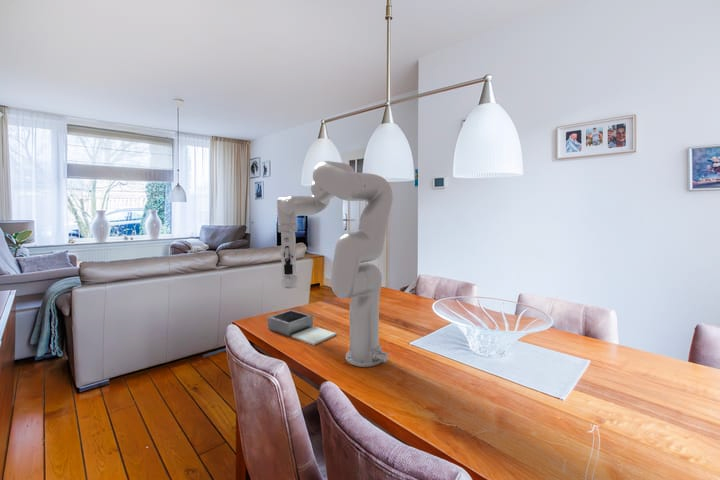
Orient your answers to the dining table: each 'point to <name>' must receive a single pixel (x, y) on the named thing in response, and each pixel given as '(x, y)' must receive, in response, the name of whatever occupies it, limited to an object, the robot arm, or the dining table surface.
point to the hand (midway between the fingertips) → (289, 272)
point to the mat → (313, 335)
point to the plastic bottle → (291, 279)
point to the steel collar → (290, 322)
